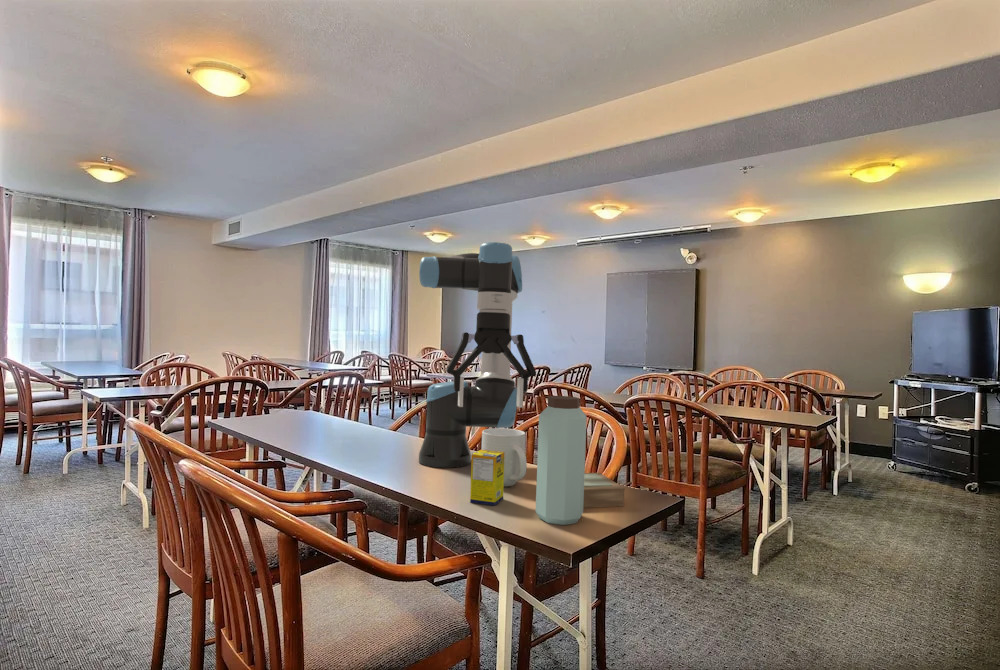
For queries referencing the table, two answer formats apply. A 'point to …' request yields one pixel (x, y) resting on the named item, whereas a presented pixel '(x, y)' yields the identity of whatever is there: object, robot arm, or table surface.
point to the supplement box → (487, 477)
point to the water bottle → (561, 461)
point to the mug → (507, 451)
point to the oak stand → (601, 491)
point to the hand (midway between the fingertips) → (490, 406)
